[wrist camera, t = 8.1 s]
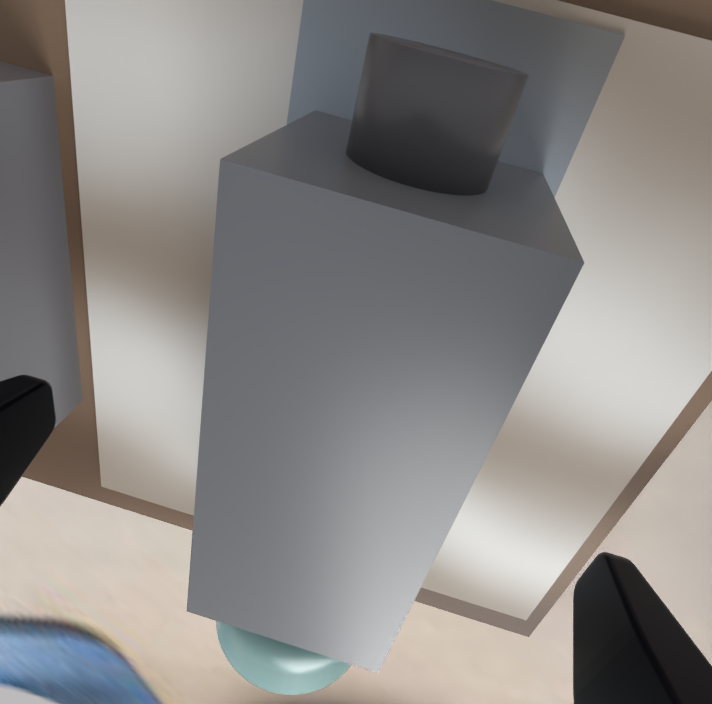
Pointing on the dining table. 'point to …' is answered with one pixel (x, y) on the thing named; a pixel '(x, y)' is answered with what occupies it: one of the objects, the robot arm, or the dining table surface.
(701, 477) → the dining table surface
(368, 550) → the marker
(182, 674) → the dining table surface
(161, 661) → the dining table surface
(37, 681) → the dining table surface
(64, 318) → the button housing
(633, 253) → the picture frame
